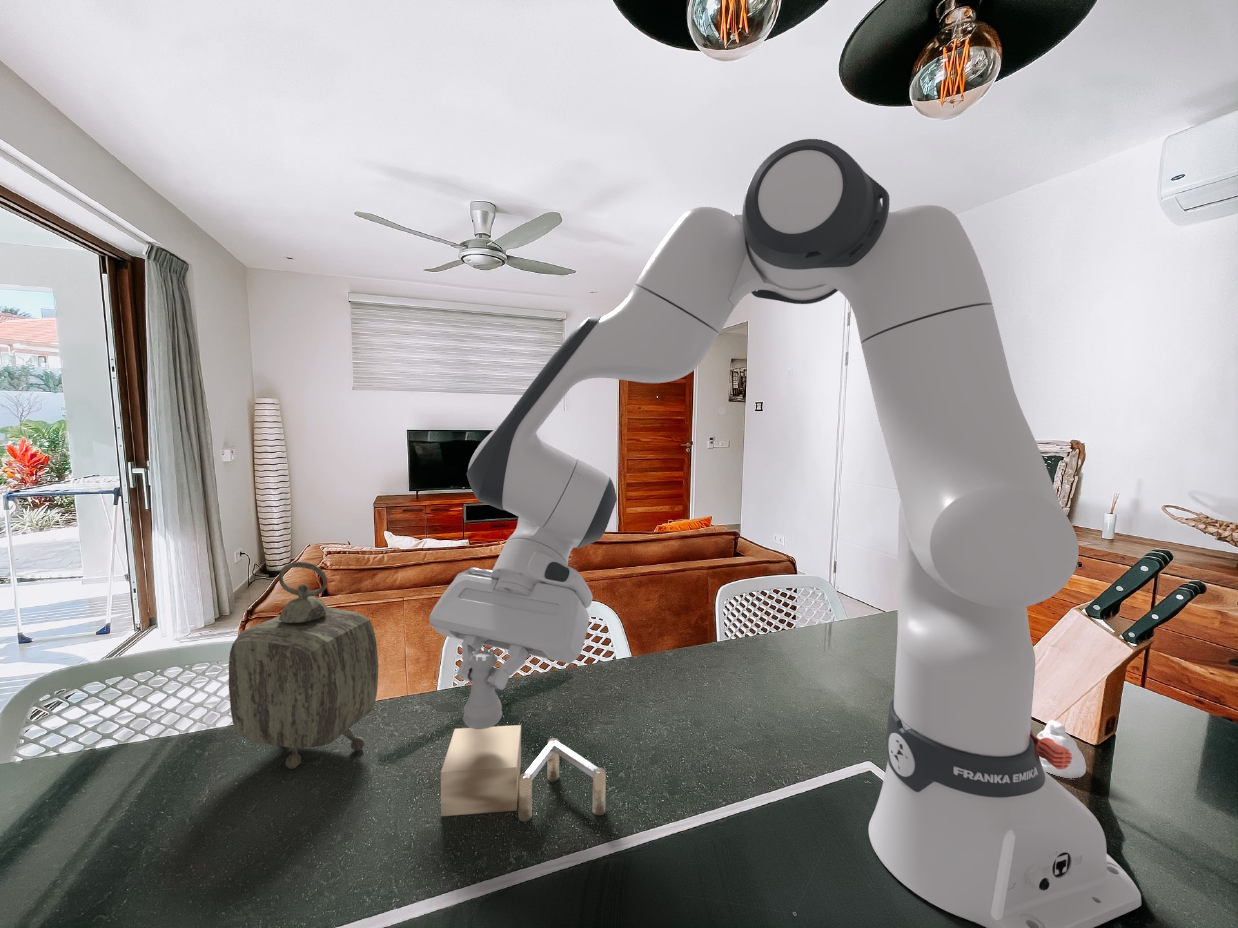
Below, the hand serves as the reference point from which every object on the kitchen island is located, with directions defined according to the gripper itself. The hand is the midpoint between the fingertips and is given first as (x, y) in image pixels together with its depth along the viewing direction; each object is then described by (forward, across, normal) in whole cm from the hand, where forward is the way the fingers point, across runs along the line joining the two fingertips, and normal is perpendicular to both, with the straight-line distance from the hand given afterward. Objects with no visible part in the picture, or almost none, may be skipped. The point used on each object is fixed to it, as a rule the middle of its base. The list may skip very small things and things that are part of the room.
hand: (479, 682), depth 59 cm
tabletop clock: (+12, -24, +7) cm, 27 cm away
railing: (+7, +8, +11) cm, 15 cm away
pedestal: (+9, 0, +10) cm, 13 cm away
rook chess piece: (+3, 0, +4) cm, 5 cm away
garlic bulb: (-14, +64, +32) cm, 73 cm away
